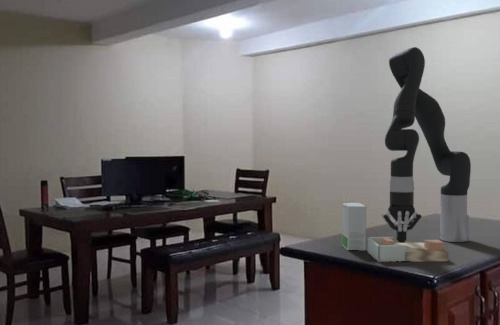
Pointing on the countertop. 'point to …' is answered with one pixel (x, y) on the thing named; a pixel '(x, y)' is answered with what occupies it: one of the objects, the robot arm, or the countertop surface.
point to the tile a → (387, 242)
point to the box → (386, 250)
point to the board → (423, 253)
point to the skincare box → (353, 226)
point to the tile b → (434, 245)
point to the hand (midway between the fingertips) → (401, 242)
